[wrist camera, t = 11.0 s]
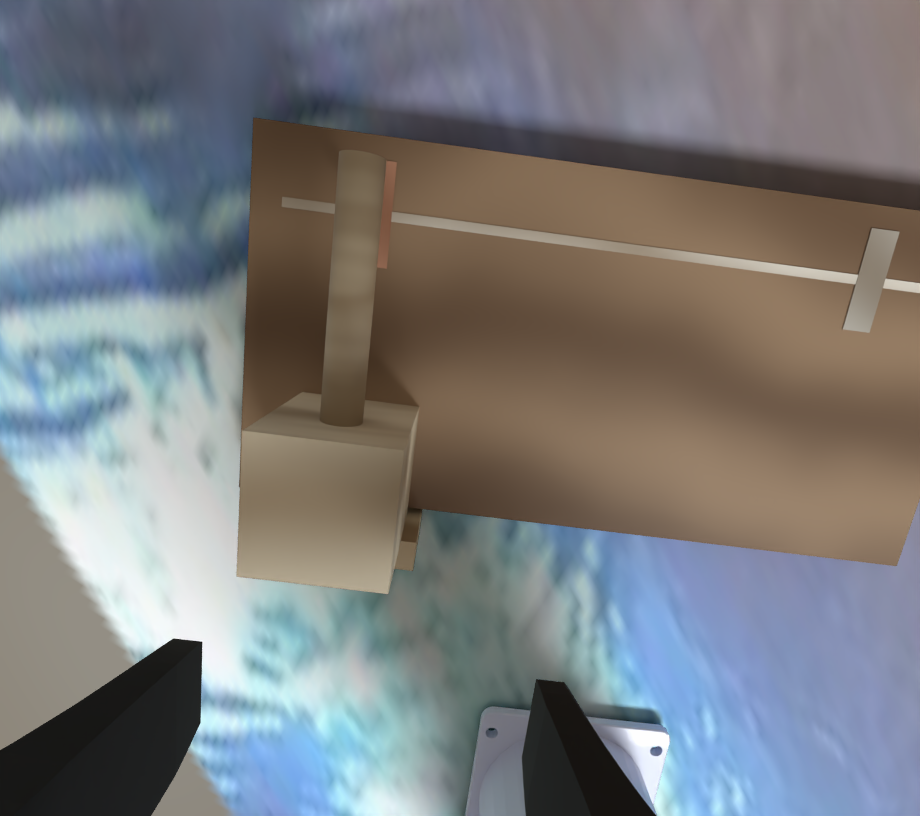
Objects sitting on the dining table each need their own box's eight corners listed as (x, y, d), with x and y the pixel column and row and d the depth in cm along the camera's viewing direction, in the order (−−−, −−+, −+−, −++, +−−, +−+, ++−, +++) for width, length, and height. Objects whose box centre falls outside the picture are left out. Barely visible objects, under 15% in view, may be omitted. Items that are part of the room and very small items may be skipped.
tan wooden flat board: (865, 546, 21) (897, 566, 19) (255, 472, 20) (238, 487, 18) (969, 229, 18) (1015, 223, 16) (270, 132, 17) (252, 117, 16)
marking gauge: (420, 527, 20) (403, 629, 14) (290, 512, 20) (216, 608, 14) (460, 198, 17) (460, 149, 11) (310, 178, 17) (231, 118, 11)
